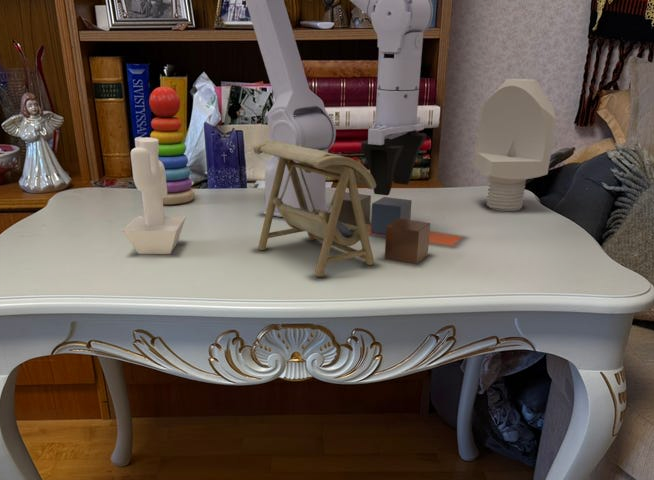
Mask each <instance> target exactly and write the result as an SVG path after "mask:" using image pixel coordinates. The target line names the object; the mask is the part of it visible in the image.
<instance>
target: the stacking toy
mask: <svg viewBox="0 0 654 480" xmlns="http://www.w3.org/2000/svg"><path fill="white" fill-rule="evenodd" d="M148 102H149V107H150V110H151V111H152V113H153V115H154V116H156V117H154V118H152V119H151V122H150V125H151V128H152V131H151V133H150V134H149V135H150V136H149V138H156V139H158V140H159V152H158V158H159V161H161V162H162V163H163V165H164V168H165V174H166V184H167V196H166V197H165V198H163V205H167V206H169V205H182V204H187V203H189V202H191V201H193V199H194V198H195V191H194V189H192V185H193V181H192V179H191V178H190V176H191V169H190V166H188V163H189V159H188V156H187V155H186V154H185V153H186V151H187V147H186V144H185V143H184V142H182V141H183V140H184V134H183V132H182V131H181V130H180V129H181V128H182V121H181V119H180V118H179V117H177V116H176V115H177V114H178V113H179V110H180V108H181V98H180V96H179V94H178V92H176V91H175V90H174V89H173V88H171V87H168V86H159V87H156V88H154V89H153V90H152V92H151V93H150V95H149V100H148Z"/></svg>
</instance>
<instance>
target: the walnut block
mask: <svg viewBox="0 0 654 480" xmlns="http://www.w3.org/2000/svg"><path fill="white" fill-rule="evenodd" d="M430 232H431V222H427V221H420V220H412V219H410V220H406V219H398V220H396V221H395V222H393V223H392V224H390V225H388V226H387V227H386V236H385V245H384V260H386V261H387V260H388V261H393V262H399V263H403V264H404V263H406V264H411V265H418V264H419V263H420V262H421V261H422V260H424V259H425V258H426V257H427V256H428V255H429V245H430V243H429V235H430Z"/></svg>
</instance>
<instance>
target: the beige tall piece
mask: <svg viewBox="0 0 654 480" xmlns="http://www.w3.org/2000/svg"><path fill="white" fill-rule="evenodd" d="M556 124H557V117H556V113H555V110H554V107H553V105H552V103H551V101H550V100H549V97H548V96H547V94H546V93H545V91H544V89H543V88H542V87H541V84H540V83H539V81H538V80H537V79H535V78H506V79H505V80H504V81H503V83H502V84H500V85H499V87H498V88H497V89H496V90H495V91H494V93H493V94H491V96H490V97H489V98H488V99H487V100H486V102H485V103H483V105H482V107H481V108H480V111H479V113H478V121H477V129H476V130H477V131H476V139H475V146H474V147H475V148H474V149H475V150H474V155H473V156H474V157H473V166H474V168H475V169H476V170H477V172H478V173H479V174H481V175H482V176H485V177H489V180H490V181H488V183H489V185H488V189H487V199H486V206H487V207H488V208H490V209H492V210H495V211H502V212H515V211H519V210H521V209H522V207H523V205H524V204H523V203H524V198H525V197H524V195H525V191H526V189H525V188H526V184H527V180H528V179H530V180H531V179H534V178H535V179H536V178H540V177H543V176H547V175H548V174H549V168H550V161H551V155H552V149H553V143H554V137H555V131H556Z"/></svg>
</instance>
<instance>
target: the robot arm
mask: <svg viewBox="0 0 654 480" xmlns="http://www.w3.org/2000/svg"><path fill="white" fill-rule="evenodd" d="M349 2H351V3H352V4H353V5H354V6H356V7H357V8H358V9H359V10H360V11H362V12H363V13H364V14H365V15H366V16H367V17H369V18H370V21H371V25H372V28H373V30H374V32H375V34H376V36H377V48H378V60H377V81H376V83H377V85H376V104H375V121H374V122H373V124H372V126H371V127H370V128H368V131H367V132H368V133H367V140H364V141H361V142H360V150H361V152H362V154H363V156H364V158H365V160H366V164H367V167H368V171H369V172H370V174H371V175H372V177H373V178H374V180H375V183H376V187H375V188H374V189H372V190H373V194H374V195H380V196H390V194H391V191H392V187H393V182H394V184H396V185H397V184H398V185H409V184H410V181H411V177H412V174H413V170H414V168H415V164H416V161H417V158H418V155H419V154H420V151H421V149H422V147H423V145H424V143H425V142H426V140H427V133H424V132H418V131H422V130H424V129H425V123H421V116H418V109H419V95H420V81H421V67H422V55H423V43H424V33H426V31H427V30H428V29H429V27H430V25H431V23H432V21H433V15H434V8H433V2H432V0H349ZM245 3H246V7H247V10H248V14H249V17H250V20H251V24H252V27H253V30H254V33H255V37H256V40H257V43H258V44H257V45H258V46H259V51H260V54H261V57H262V60H263V63H264V67H265V70H266V74H267V76H268V80H269V84H270V87H271V90H272V93H273V97H274V99H275V100H274V102H273V104H272V106H271V107H270V109H269V111H268V112H267V115H266V117H267V120H268V123H269V142H270V141H277V142H283V143H287V144H292V145H296V146H301V147H304V148H310V149H315V150H320V151H324V152H327V153H329V150H330V149H331V148H332V147H333V145H334V144H335V141H336V136H337V129H336V125H335V122H334V120H333V118H332V117H331V116H330V114H329V113H328V112H327V110H326V107H325V104H324V101H323V100H322V99H321V98H320V97H319V96H318V95H317V94H315V93H314V92H313V91H312V90H311V89H310V86H309V83H308V79H307V76H306V73H305V69H304V66H303V62H302V59H301V55H300V52H299V49H298V44H297V41H296V38H295V35H294V31H293V27H292V24H291V21H290V18H289V14H288V11H287V10H288V9H287V7H286V4H285V0H245ZM279 158H280V157H276V156H272V157H271V158H270V159H269V160H268V161H267V163H266V166H265V171H264V193H265V195H264V197H265V199H264V200H265V210H263V215H264V216H265V215H266V211H267V207H268V203H269V199H270V195H271V191H272V187H273V182H274V178H275V174H276V170H277V166H278V162H279ZM293 161H294V162H296V163H300V162H299V161H295V160H293ZM295 168H296V170H297V173H298V177H299V180H300V184H301V187H302V190H303V193H304V197H305V200H306V203H307V207H308V210H309V211H310V212H312V211H313V207H312V204H311V201H310V198H309V195H308V192H307V189H306V186H305V184H304V181H303V178H302V176H301V172H300V169H299V168H297V167H295ZM302 172H303V175H304V178H305V180H306V184H307V186H308V189H309V192H310V195H311V198H312V201H313V205H314V207H315V209H318V210H320V211H326V212H327V210H328V208H329V206H326V190H327V189H326V185H327V184H326V181H327V180H326V178H327V176H325V175H321V174H318V173H314V172H311V173H307V172H305V171H304V169H302ZM288 173H289V171H288V168H287V165H286V166H285V170H284V174H283V179H282V183H281V187H280V191H279V195H278V198H280V197H281V195H282V192H283V189H284V187H285V184H286V180H287V177H288ZM282 202H283V203H284V204H287V205H289V206H292V207H294V208H300V206H299V203H298V199H297V196H296V193H295V190H294V187H293V183H292V180H291V177H290V178H289V182H288V185H287V188H286V191H285V193H284V196H283V198H282ZM331 209H332V206H331V208H330V210H329V214H330V213H331ZM273 217H279V218H283V217H282V215H281V214H280V212H279V211H278V209H277V208H276V207H275V210H274V215H273Z"/></svg>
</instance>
